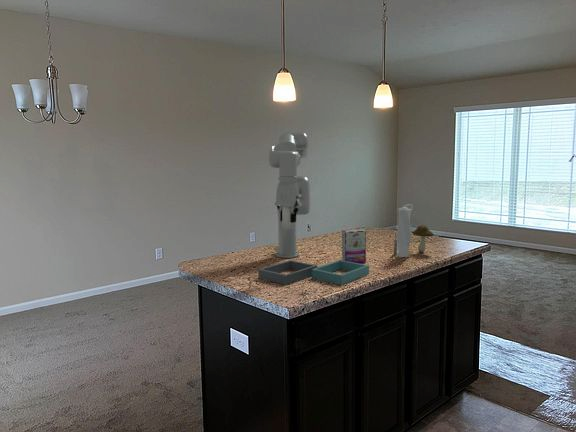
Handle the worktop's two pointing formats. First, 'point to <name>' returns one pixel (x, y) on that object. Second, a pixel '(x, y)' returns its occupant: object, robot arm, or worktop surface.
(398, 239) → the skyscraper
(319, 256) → the worktop surface
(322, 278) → the bin
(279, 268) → the bin
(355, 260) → the candy bar box
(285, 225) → the canister
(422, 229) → the mushroom
